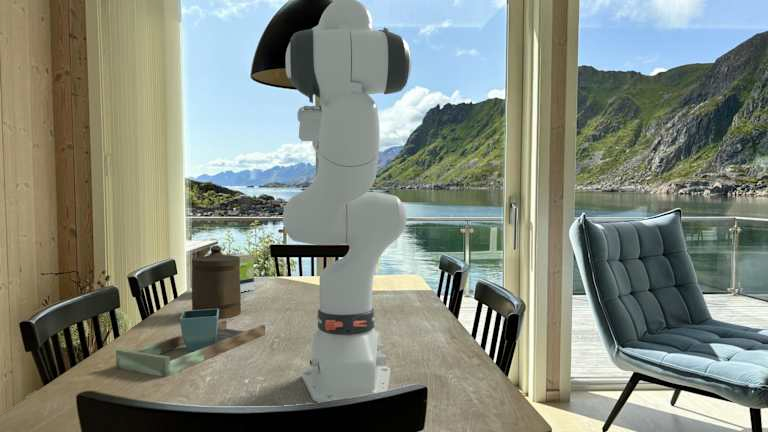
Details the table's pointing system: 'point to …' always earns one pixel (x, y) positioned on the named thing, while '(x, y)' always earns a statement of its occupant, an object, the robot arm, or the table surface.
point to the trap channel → (162, 366)
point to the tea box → (246, 271)
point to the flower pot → (199, 328)
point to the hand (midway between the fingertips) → (337, 158)
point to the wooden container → (216, 283)
